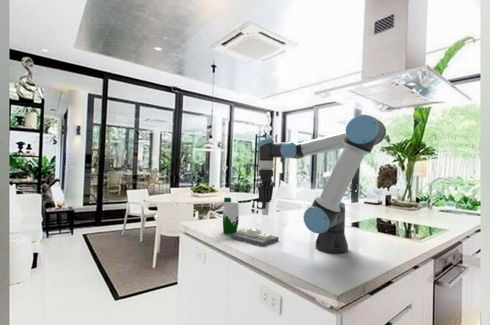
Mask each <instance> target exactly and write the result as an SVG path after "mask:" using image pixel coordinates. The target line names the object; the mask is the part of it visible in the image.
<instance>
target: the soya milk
mask: <svg viewBox="0 0 490 325" xmlns="http://www.w3.org/2000/svg"><path fill="white" fill-rule="evenodd" d="M223 198H224V199H223V207H222V209H223V210H222V230H223V234H227V235H230V234H232V233H236V232H238V227H239V213H240V211H239V201H238V200H232V198H231V197H223Z"/></svg>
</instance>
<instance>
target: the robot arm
mask: <svg viewBox="0 0 490 325" xmlns="http://www.w3.org/2000/svg"><path fill="white" fill-rule="evenodd" d="M386 134H387V132H386V126H385V125H384V122H382V121H381V120H379V119H377V118H376V117H374V116H372V115H369V114H358V115H355V116H354V117H352V118H351V119H350V120H349V121H348V122H347V123H346V126H345V131H343V132H338V133H335V134H331V135H327V136H323V137H318V138H315V139H310V140H308V141H303V142H299V143H294V142H291V141H289V142H288V141H285V142H283V141H282V142H275V140H274V139H272V138H261V139H260V140H259V145H258V146H259V147H258V149H259V150H258V154H259V157H258V168H259V169H258V177H260V178H259V181H258V182H256V187H257V191H258V200H259V202H260V203H262V204H261V209H262V210H261V211H262V215H263V216H269V208H270V206H269V204H270V203H271V202H272V199H273V194H274V192H273V191H274V187H275V183H276V182H275V181H273V177H274V167H275V166H274V160H275V159H276V158H279V159H280V158H281V159H282V158H283V159H296V160H298V159H300V160H301V159H303V158H305V157H310V156H314V155H315V156H316V155H319V154H324V153H329V152H333V151H337V150H342V151H341V153H340V155H339V157H338V159H337V160H336V161H337V162H336V163H335V166H334V168H333V170H332V172H331V174H330V176H329V178H328V180H327V181H326V184H325V186H324V189H323V190H322V191H321V194H320V196H317V197H315V199H314V200H313V202H312V204H311V206H309V207H308V208H306V210H305V211H304V213H303V222H304V225H305V227H306V228H307V229H308V230H309V231H310V232H312V233H313V234H317V238H316V240H315V248H316V249H317V250H319V251H321V252H325V253H329V254H345V253H348V252H349V244H348V242H347V238H346V232H345V229H346V228H345V226H346V225H345V224H346V222H345V221H346V204H345V203H344V202H342V200H343V198H344V196H345V195H346V192H347V190H348V188H349V187H350V185H351V183H352V180H353V178H354V176H355V175H356V173H357V171H358V169H359V167H360V165H361V164H362V161H363V159H364V157H365V156H366V155H369V154H371V153H372V151H373V149H374V147H375V146H377V145H378V144H381V143H382V142H383V141H384V139H385V137H386ZM274 158H275V159H274Z"/></svg>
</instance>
